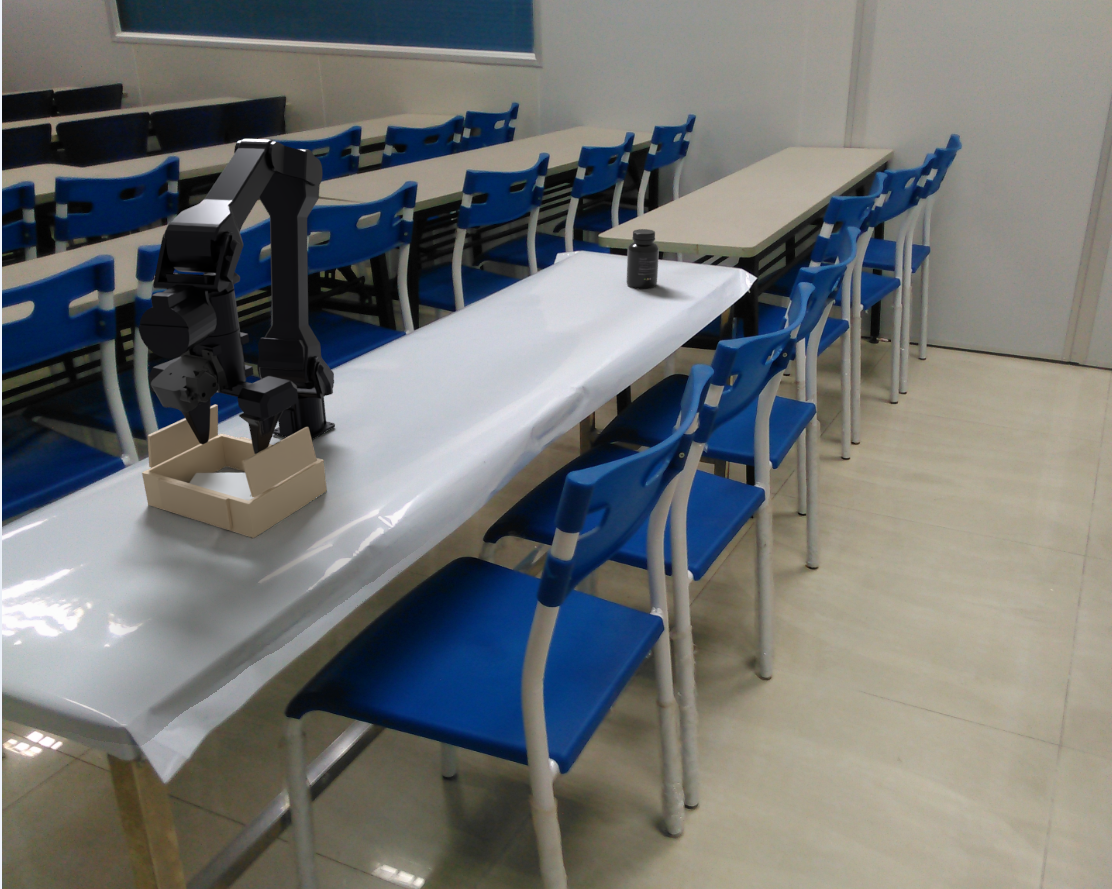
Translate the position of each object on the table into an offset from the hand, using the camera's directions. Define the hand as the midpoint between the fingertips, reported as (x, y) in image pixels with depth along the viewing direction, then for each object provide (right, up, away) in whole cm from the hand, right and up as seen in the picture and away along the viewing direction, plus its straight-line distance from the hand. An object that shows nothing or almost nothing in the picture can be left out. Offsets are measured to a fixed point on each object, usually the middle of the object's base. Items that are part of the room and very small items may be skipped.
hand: (232, 450), depth 118 cm
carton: (0, -6, +3) cm, 7 cm away
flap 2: (+7, -1, -3) cm, 8 cm away
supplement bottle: (+59, +36, +95) cm, 117 cm away
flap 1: (-7, +2, +3) cm, 8 cm away
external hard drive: (0, -6, +3) cm, 7 cm away
